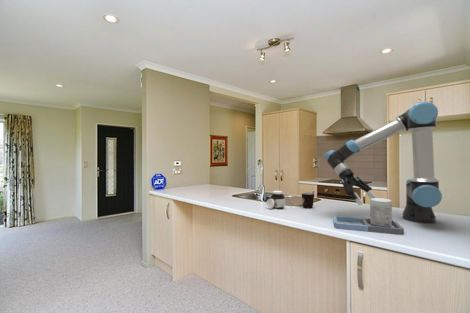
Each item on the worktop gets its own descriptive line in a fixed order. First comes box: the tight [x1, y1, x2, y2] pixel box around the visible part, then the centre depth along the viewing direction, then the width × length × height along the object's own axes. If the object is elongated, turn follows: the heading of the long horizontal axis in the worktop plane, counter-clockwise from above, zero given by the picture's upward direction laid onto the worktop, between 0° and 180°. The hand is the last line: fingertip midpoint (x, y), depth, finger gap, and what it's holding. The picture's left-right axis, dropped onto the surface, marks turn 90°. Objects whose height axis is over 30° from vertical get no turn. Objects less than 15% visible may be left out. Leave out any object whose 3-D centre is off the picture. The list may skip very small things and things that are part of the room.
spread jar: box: [265, 190, 286, 210], centre depth 167 cm, size 12×11×12 cm
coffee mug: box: [301, 192, 315, 210], centre depth 170 cm, size 12×9×10 cm
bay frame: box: [332, 215, 405, 236], centre depth 125 cm, size 30×16×2 cm, turn 70°
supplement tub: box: [369, 197, 393, 228], centre depth 122 cm, size 10×10×15 cm
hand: (369, 202), depth 127 cm, fingers open, 13 cm apart
